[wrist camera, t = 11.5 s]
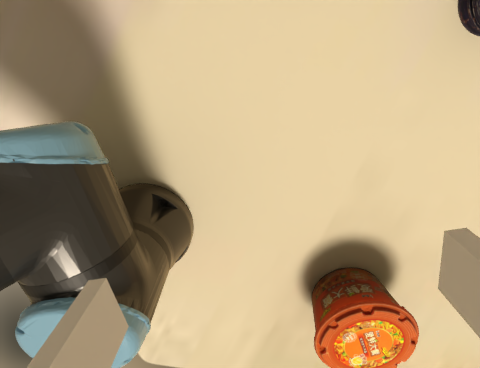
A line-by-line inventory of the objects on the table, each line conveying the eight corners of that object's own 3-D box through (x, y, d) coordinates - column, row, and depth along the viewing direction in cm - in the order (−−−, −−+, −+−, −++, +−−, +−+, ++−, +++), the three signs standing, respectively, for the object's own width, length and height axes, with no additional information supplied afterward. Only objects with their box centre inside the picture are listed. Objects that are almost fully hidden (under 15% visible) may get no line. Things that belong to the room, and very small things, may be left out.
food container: (405, 299, 54) (440, 352, 44) (332, 336, 59) (350, 392, 49) (361, 244, 50) (390, 289, 40) (286, 289, 54) (295, 340, 44)
